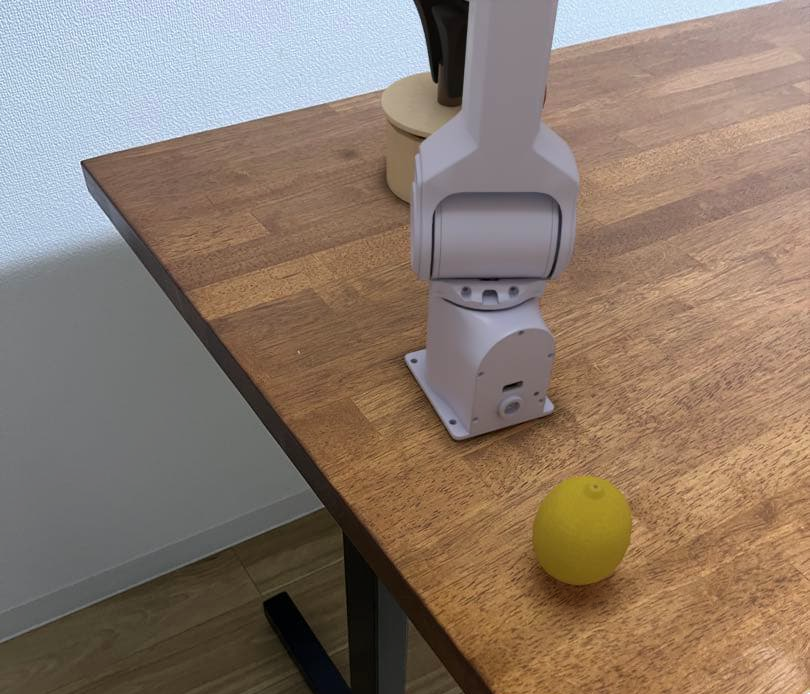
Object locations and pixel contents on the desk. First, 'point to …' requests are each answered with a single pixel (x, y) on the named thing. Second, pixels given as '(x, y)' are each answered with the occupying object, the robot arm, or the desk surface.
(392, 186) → the pot
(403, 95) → the lid
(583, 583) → the lemon
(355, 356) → the desk surface
